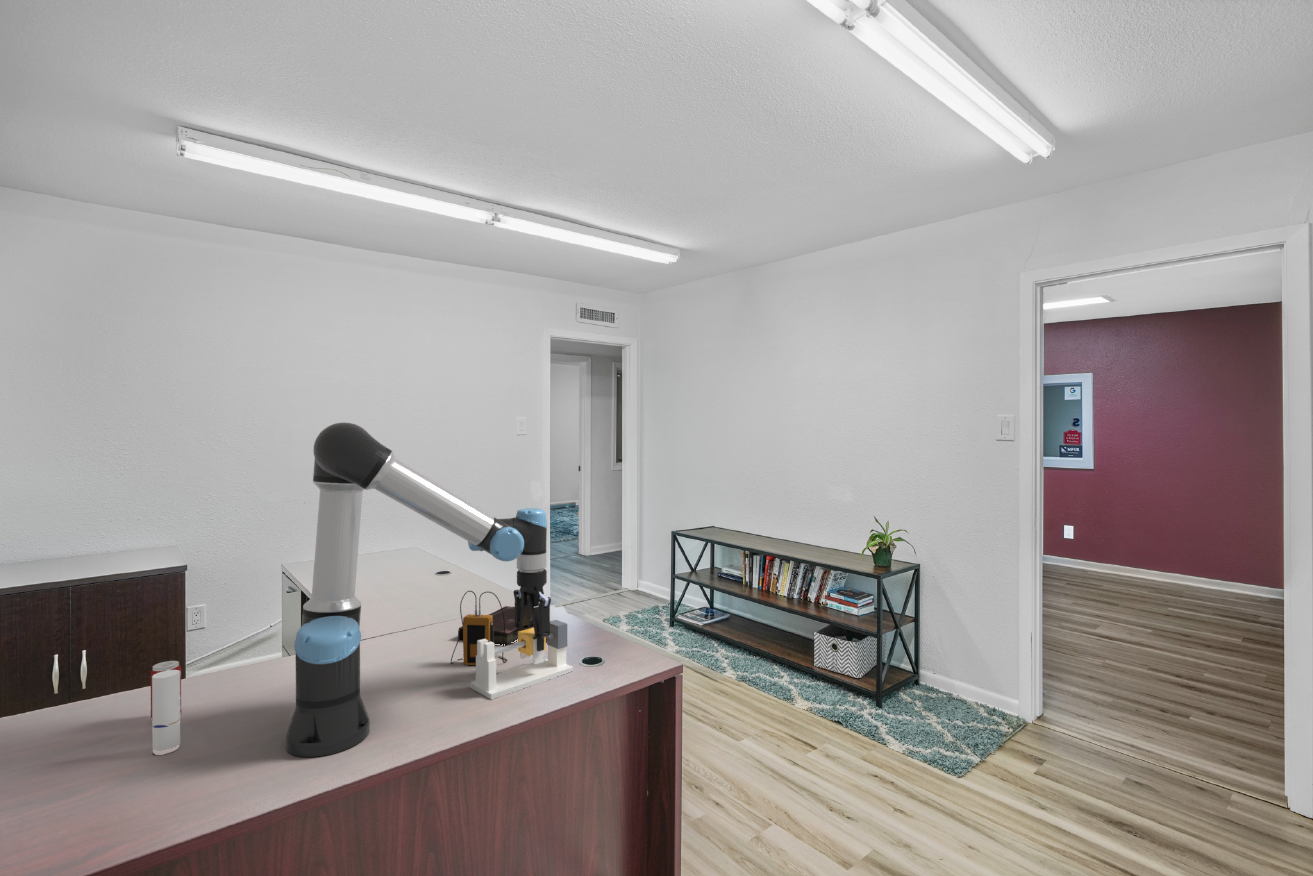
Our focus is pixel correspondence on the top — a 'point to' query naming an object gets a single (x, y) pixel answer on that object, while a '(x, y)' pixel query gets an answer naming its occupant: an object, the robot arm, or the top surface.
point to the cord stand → (524, 675)
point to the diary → (498, 626)
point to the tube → (166, 709)
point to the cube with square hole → (528, 641)
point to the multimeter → (476, 632)
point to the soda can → (165, 667)
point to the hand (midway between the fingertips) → (531, 659)
